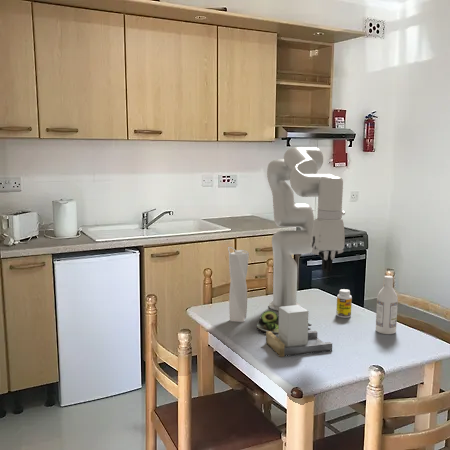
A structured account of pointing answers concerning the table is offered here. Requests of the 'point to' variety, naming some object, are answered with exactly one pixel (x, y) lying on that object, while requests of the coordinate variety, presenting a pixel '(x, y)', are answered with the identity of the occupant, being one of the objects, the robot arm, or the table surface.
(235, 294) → the skyscraper
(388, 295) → the bath foam
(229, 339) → the table surface
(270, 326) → the salad plate
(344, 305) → the supplement bottle
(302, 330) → the supplement box
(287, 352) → the channel bracket
